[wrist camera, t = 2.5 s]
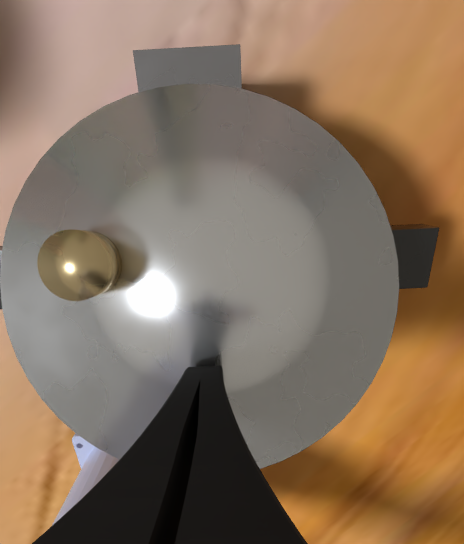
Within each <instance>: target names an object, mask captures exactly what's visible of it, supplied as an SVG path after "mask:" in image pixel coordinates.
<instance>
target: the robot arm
mask: <svg viewBox="0 0 464 544" xmlns="http://www.w3.org/2000/svg"><path fill="white" fill-rule="evenodd" d="M72 442H73V445H74V448H75V451H76V454H77V457H78V460H79V463H80V466H81V471H80V473H79V475H78V477H77V479H76V481H75V482H74V484H73V486H72V488H71V490H70V492H69V494H68V496H67V498H66V500H65V502H64V504H63V506H62V507H61V509H60V511H59V513H58V515H57V517H56V519H55V521H54V523H53V525H52V526H51V527H50V528H49V529H48V530H47V531H46V532H45V533H44V534H43V535H41V536H40V537H39V538H38V539H37V540H36V541H35V542H33V543H32V544H307V542H306V541H305V539H304V538H303V537H302V535H301V534H300V532H299V531H298V529H297V528H296V527H295V525H294V524H293V522H292V521H291V519H290V518H289V516H288V515H287V513H286V512H285V510H284V509H283V507H282V505H281V504H280V502H279V500H278V499H277V497H276V496H275V494H274V492H273V491H272V489H271V487H270V486H269V484H268V482H267V481H266V479H265V478H264V476H263V474H262V472H261V471H260V469H259V467H258V465H257V463H256V461H255V460H254V458H253V456H252V454H251V452H250V450H249V448H248V446H247V444H246V442H245V440H244V437H243V435H242V433H241V431H240V428H239V426H238V424H237V421H236V419H235V416H234V414H233V411H232V408H231V405H230V402H229V400H228V396H227V393H226V389H225V385H224V380H223V368H222V367H221V366H201V367H188V368H187V369H186V370H185V371H184V373H183V375H182V377H181V378H180V380H179V382H178V383H177V385H176V386H175V388H174V389H173V391H172V393H171V394H170V396H169V397H168V399H167V400H166V401H165V403H164V404H163V406H162V407H161V409H160V410H159V412H158V413H157V414H156V416H155V417H154V418H153V420H152V421H151V422H150V424H149V425H148V426H147V427H146V429H145V430H144V431H143V433H142V434H141V435H140V436H139V438H138V439H137V440H136V441H135V442H134V444H133V445H132V446H131V447H130V448H129V450H128V451H127V452H126V453H125V454H124V455H123V456H122V457H121V459H120V460H119V459H117V458H115V457H113V456H111V455H109V454H107V453H106V452H104V451H102V450H100V449H98V448H96V447H95V446H93V445H92V444H90V443H89V442H88V441H86V440H85V439H83V438H82V437H80V436H79V435H77V434H75V435H74V436H73V438H72Z"/></svg>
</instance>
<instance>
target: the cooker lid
mask: <svg viewBox="0 0 464 544" xmlns="http://www.w3.org/2000/svg"><path fill="white" fill-rule="evenodd" d="M0 289H1V301H2V309H3V314H4V318H5V323H6V327H7V332H8V335H9V338H10V340H11V343H12V346H13V349H14V351H15V354H16V357H17V359H18V361H19V362H20V364H21V366H22V368H23V370H24V372H25V374H26V376H27V378H28V380H29V381H30V383H31V384H32V385H33V387H34V388H35V390H36V391H37V393H38V394H39V396H40V397H41V399H42V400H43V401H44V402H45V403H46V404H47V406H48V407H49V408H50V409H51V410H52V411H53V412H54V413H55V415H56V416H57V417H58V418H59V419H60V420H61V421H63V422H64V423H65V424H66V425H67V426H68V427H69V428H70V429H72V430H73V431H74V432H75V433H76V434H77V435H79V436H80V437H82V438H83V439H85V440H86V441H88V442H89V443H90V444H92V445H93V446H95V447H96V448H98V449H100V450H102V451H104V452H106V453H107V454H109V455H111V456H113V457H115V458H117V459H119V460H120V459H121V457H122V456H123V455H124V454H125V453H126V452H127V451H128V450H129V448H130V447H131V446H132V445H133V444H134V442H135V441H136V440H137V439H138V438H139V436H140V435H141V434H142V433H143V431H144V430H145V429H146V427H147V426H148V425H149V424H150V422H151V421H152V420H153V418H154V417H155V416H156V414H157V413H158V412H159V410H160V409H161V407H162V406H163V404H164V403H165V401H166V400H167V399H168V397H169V396H170V394H171V393H172V391H173V389H174V388H175V386H176V385H177V383H178V382H179V380H180V378H181V377H182V375H183V373H184V371H185V370H186V369H187V368H188V367H201V366H221V367H222V368H223V380H224V385H225V389H226V393H227V396H228V400H229V402H230V405H231V408H232V411H233V414H234V416H235V419H236V421H237V424H238V426H239V428H240V431H241V433H242V435H243V437H244V440H245V442H246V444H247V446H248V448H249V450H250V452H251V454H252V456H253V458H254V460H255V461H256V463H257V465H258V467H259V469H261V468H264V467H267V466H269V465H272V464H275V463H278V462H280V461H283V460H285V459H287V458H289V457H291V456H293V455H295V454H297V453H299V452H301V451H303V450H304V449H306V448H307V447H309V446H310V445H312V444H313V443H315V442H316V441H318V440H319V439H321V438H322V437H323V436H325V435H326V434H327V433H328V432H329V431H330V430H332V429H333V428H334V427H335V426H336V425H337V424H338V423H340V422H341V421H342V420H343V419H344V418H345V416H346V415H347V414H348V413H349V412H350V411H351V410H352V409H353V408H354V406H355V405H356V404H357V403H358V402H359V400H360V399H361V397H362V396H363V394H364V393H365V392H366V390H367V389H368V387H369V386H370V384H371V383H372V381H373V379H374V377H375V375H376V373H377V371H378V369H379V368H380V366H381V364H382V362H383V359H384V357H385V354H386V351H387V348H388V346H389V343H390V340H391V337H392V333H393V328H394V324H395V319H396V315H397V307H398V295H399V272H398V259H397V253H396V248H395V242H394V237H393V233H392V230H391V227H390V224H389V221H388V218H387V215H386V212H385V209H384V207H383V205H382V203H381V201H380V199H379V197H378V195H377V192H376V190H375V188H374V186H373V185H372V183H371V182H370V180H369V179H368V177H367V176H366V174H365V173H364V171H363V170H362V168H361V167H360V165H359V164H358V162H357V161H356V160H355V159H354V158H353V157H352V156H351V154H350V153H349V152H348V151H347V150H346V149H345V148H344V146H343V145H342V144H341V143H340V142H339V141H338V140H337V139H335V138H334V137H333V136H332V135H331V134H330V133H328V132H327V131H326V130H325V129H324V128H323V127H321V126H320V125H319V124H318V123H316V122H315V121H313V120H311V119H310V118H308V117H307V116H305V115H304V114H302V113H301V112H299V111H298V110H296V109H294V108H292V107H290V106H288V105H286V104H283V103H281V102H279V101H277V100H275V99H273V98H270V97H268V96H264V95H261V94H258V93H255V92H251V91H248V90H245V89H241V88H234V87H228V86H222V85H215V84H181V85H173V86H165V87H157V88H153V89H150V90H146V91H143V92H139V93H135V94H132V95H129V96H126V97H124V98H122V99H120V100H117V101H115V102H113V103H110V104H108V105H106V106H104V107H102V108H100V109H99V110H97V111H96V112H94V113H92V114H91V115H89V116H87V117H86V118H84V119H82V120H81V121H80V122H78V123H77V124H76V125H75V126H74V127H72V128H71V129H70V130H69V131H68V132H66V133H65V134H64V135H63V136H62V137H60V138H59V139H58V140H57V141H56V143H55V144H54V145H53V146H52V147H51V148H50V149H49V150H48V151H47V152H46V154H45V155H44V156H43V157H42V158H41V159H40V161H39V162H38V164H37V165H36V167H35V168H34V170H33V171H32V173H31V174H30V175H29V177H28V178H27V180H26V182H25V184H24V186H23V188H22V190H21V192H20V194H19V196H18V198H17V200H16V202H15V204H14V207H13V210H12V213H11V216H10V219H9V222H8V225H7V228H6V231H5V237H4V242H3V248H2V253H1V268H0Z"/></svg>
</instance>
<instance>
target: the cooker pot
mask: <svg viewBox="0 0 464 544" xmlns="http://www.w3.org/2000/svg"><path fill="white" fill-rule="evenodd" d="M133 55H134V62H135V69H136V76H137V84H138V91H139V92H143V91H146V90H150V89H153V88H157V87H165V86H173V85H181V84H215V85H222V86H228V87H234V88H241V89H242V85H241V54H240V44H239V45H221V46H203V47H185V48H168V49H150V50H133ZM390 227H391V230H392V233H393V237H394V242H395V248H396V253H397V259H398V272H399V289H406V288H425V287H427V286H428V281H429V276H430V271H431V266H432V261H433V256H434V252H435V247H436V242H437V237H438V232H439V227H434V226H429V225H424V224H411V225H392V226H390ZM2 248H3V246H0V268H1V253H2ZM0 309H2V301H1V289H0Z"/></svg>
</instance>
